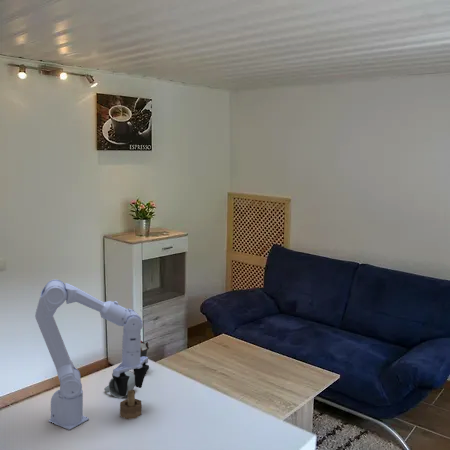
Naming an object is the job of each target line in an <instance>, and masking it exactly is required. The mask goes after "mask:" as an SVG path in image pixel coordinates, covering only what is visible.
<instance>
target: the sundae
mask: <svg viewBox="0 0 450 450" xmlns="http://www.w3.org/2000/svg"><path fill="white" fill-rule="evenodd" d="M149 349H150V348H149V342H148V341H147V342H146V343H145V342H144V341H142V340H141V353H140V357H143V356H145V357H147V354H148V350H149Z"/></svg>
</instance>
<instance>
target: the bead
mask: <svg viewBox="0 0 450 450" xmlns="http://www.w3.org/2000/svg"><path fill="white" fill-rule="evenodd" d="M142 406H143V405H142V401H141V400H140V399H137V398H135V405H134V406H128V398H125V399H124V400H122V401H119V415H120V416H119V417H121V418H123V419H126V420H132V419H137V418H138V417H141V416H142V412H143V411H142V409H143V408H142Z"/></svg>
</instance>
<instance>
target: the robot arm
mask: <svg viewBox="0 0 450 450" xmlns="http://www.w3.org/2000/svg"><path fill="white" fill-rule="evenodd" d="M39 295H40V296H39V299H38V303H37V306H36V311H35V316H34V317H35V320H36V323H37V325H38V327H39V329H40V333H41V335H42V338H43V340H44V343H45V345H46V347H47V349H48V353H49V355H50V357H51V360H52V362H53V365H54V367H55V369H56V373H57V377H58V381H59V383H60V385H59V389H58V390H56V391H55V392H54V393H53V394H52V396H51V399H50V419H48V423H51V422H52V423H51V424H53V423H54V424H53V425H56V426H59V427H61V428H64V429H66V430H68V431H70V430H73V429H74V428H75V427H77V426H79V425H81V424H83V423H85V422H87V421H89V419H90V418H89V417H87V416H85V415H84V414H83V411H84V410H83V409H84V407H83V406H84V403H83V401H84V396H83V395H84V392H83V384H82V379H81V377H82V376H81V371H80V370H79V369H78V368H76V366H74V363H73V361H72V360H71V358H70V355H69V353H68V350H67V347H66V345H65V343H64V339H63V337H62V335H61V333H60V329H59V328H58V325H57V323H56V320H55V317H54V315H55V313H56V311H57V309H58V308H60V307H61V306H62V305H63V304H64V303H66V305H68V304H69V305H70V304H74V303H78V304H80V305H83V306H85V307H87V308H90V309H92V310H95V311H97V312H99V314H100V317H101V319H104V320H106V321H108V322H110V323H112V324H115V326H118V327H123V328H122V329H123V330H122V332H123V333H122V341H121V342H122V344H121V346H122V347H121V348H122V349H121V351H122V352H121V353H122V355H121V363H120V364H118V366H117V367H115V368H113V369H112V373H111V375H112V377H111V378H114V380H115V382H116V384H117V387H118V391H119V395H121V396H125V397H126V396H127V395H126V391H127V383H128V380H129V377H130V376H127V375H126V374H125V372H127V371H131V370H133V374H134V375H135V388H139V389H142V387H143V383H144V381H145V377H146V375H147V373H148V370H149V369H150V366H149V365H148V363H149V357H148V356H146V357H145V356H143V357H140V353H141V341H142V336H141V335H142V334H141V332H142V331H141V330H142V329H143V326H144V324H143V320H142V318H141V316H140V315H139V313H137V312H136V311H135V309H131V308H129V307H128V308H127V307H124V306H122V305H120V304H119V302H118V301H116V300H114V301H113V300H108V301H102V300H100V298H97V297H95V296H93V295H91V294H90V293H89V292H86V291H84V290H82V289H81V288H79V287H77V286H76V285H75V286H74V285H72V284H70V283H68V282H63V281H62V280H60V279H51V280H49V281H48V282H47V283H46V284H45V286H44V287H43V288H42V290H41V292H40V294H39Z"/></svg>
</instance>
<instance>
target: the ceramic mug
mask: <svg viewBox="0 0 450 450" xmlns="http://www.w3.org/2000/svg"><path fill="white" fill-rule="evenodd" d="M125 374H126V375H127V376H130V377H129V380H128V383H127V391H126V396H128V391H129V390H134V388H136V386H135V375H134V372H132V371H131V370H129V371H127V372H125ZM104 392H105V393H110V394H111V396H113V397H114V398H116V399H122V398H125V397H126V396H121V395H119V391H118V387H117V384H116V382H115V380H114V378H113V377H111V379H110V380H109V381H108V385H107V386H105V387H104Z"/></svg>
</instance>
